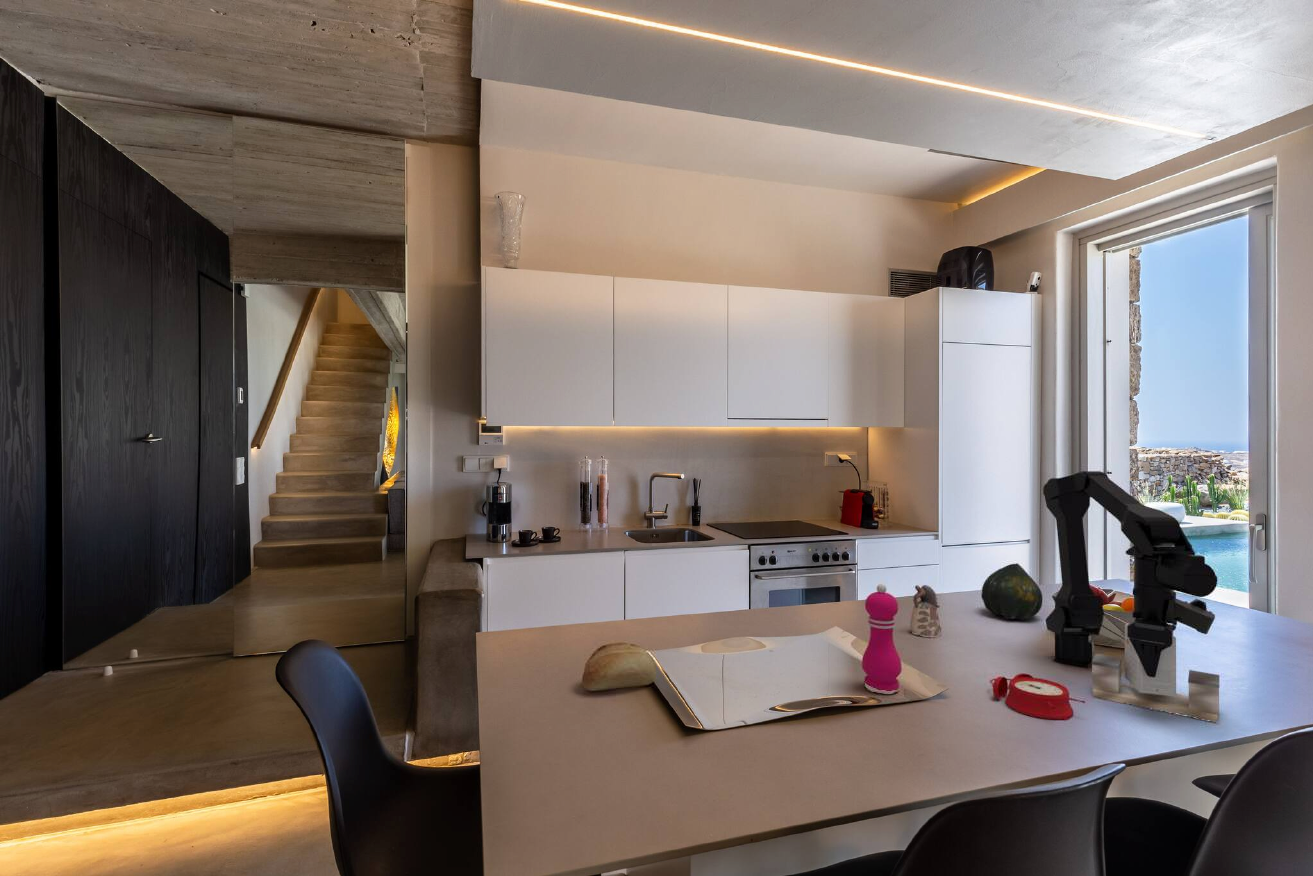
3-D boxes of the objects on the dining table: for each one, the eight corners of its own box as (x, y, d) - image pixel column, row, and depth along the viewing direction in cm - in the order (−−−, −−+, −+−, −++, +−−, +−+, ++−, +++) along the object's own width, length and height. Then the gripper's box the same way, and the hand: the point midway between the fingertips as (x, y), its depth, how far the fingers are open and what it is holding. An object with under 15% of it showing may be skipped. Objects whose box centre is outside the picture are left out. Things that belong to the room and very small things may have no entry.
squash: (980, 601, 172) (1020, 559, 171) (963, 591, 187) (1000, 552, 186) (1024, 639, 170) (1065, 597, 169) (1004, 626, 185) (1041, 587, 183)
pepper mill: (907, 688, 125) (907, 584, 125) (892, 699, 120) (892, 590, 120) (871, 679, 130) (871, 578, 130) (855, 689, 125) (855, 584, 125)
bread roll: (573, 684, 127) (573, 643, 127) (643, 672, 134) (643, 633, 134) (591, 702, 118) (591, 658, 118) (664, 688, 125) (664, 646, 125)
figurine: (946, 638, 158) (946, 588, 158) (916, 637, 158) (916, 588, 158) (934, 629, 165) (933, 582, 165) (905, 629, 165) (905, 582, 165)
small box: (1176, 697, 114) (1177, 637, 114) (1138, 693, 116) (1139, 634, 116) (1159, 681, 122) (1160, 625, 122) (1123, 677, 124) (1124, 622, 124)
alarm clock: (1049, 705, 108) (978, 658, 122) (1041, 739, 110) (972, 688, 123) (1094, 697, 112) (1020, 652, 126) (1086, 730, 113) (1014, 681, 127)
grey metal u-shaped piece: (1091, 696, 121) (1091, 662, 121) (1097, 684, 127) (1097, 652, 127) (1219, 724, 110) (1219, 686, 110) (1219, 709, 116) (1219, 673, 116)
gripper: (1210, 600, 106) (1211, 696, 106) (1211, 582, 120) (1211, 666, 120) (1127, 590, 114) (1127, 679, 114) (1137, 573, 128) (1137, 653, 128)
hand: (1153, 669), depth 119 cm, fingers closed on small box, 9 cm apart
